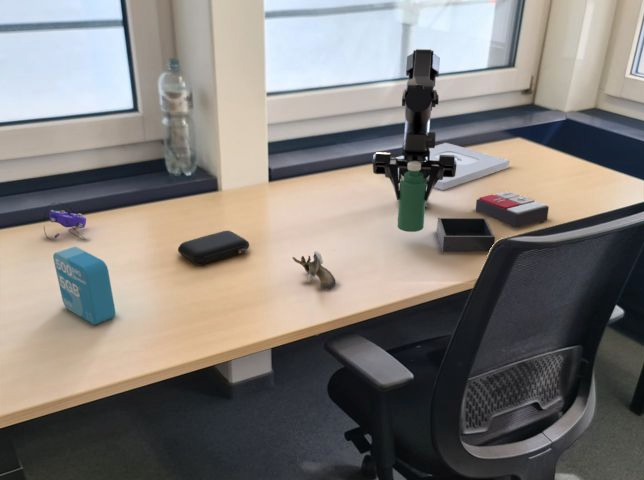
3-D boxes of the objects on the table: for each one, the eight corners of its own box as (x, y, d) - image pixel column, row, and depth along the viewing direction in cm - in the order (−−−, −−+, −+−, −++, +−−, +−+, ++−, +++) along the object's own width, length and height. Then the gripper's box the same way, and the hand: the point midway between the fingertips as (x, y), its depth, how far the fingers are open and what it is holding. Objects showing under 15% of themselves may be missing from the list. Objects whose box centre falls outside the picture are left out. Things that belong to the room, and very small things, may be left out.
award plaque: (379, 169, 222) (379, 162, 221) (445, 149, 239) (446, 142, 238) (442, 190, 207) (443, 182, 206) (508, 167, 224) (509, 160, 223)
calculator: (507, 189, 197) (550, 203, 186) (506, 205, 200) (548, 220, 189) (475, 196, 192) (517, 211, 181) (474, 212, 195) (515, 228, 184)
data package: (63, 307, 149) (51, 250, 142) (83, 299, 151) (72, 244, 145) (96, 327, 142) (85, 269, 135) (117, 319, 145) (107, 262, 138)
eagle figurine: (285, 275, 159) (308, 283, 152) (297, 243, 158) (321, 249, 151) (312, 286, 164) (336, 294, 157) (324, 255, 163) (348, 262, 156)
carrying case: (199, 270, 163) (256, 253, 171) (198, 257, 161) (255, 241, 169) (175, 254, 170) (230, 239, 178) (173, 242, 168) (229, 226, 176)
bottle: (403, 220, 177) (407, 157, 168) (427, 224, 174) (432, 161, 166) (393, 228, 172) (396, 165, 164) (417, 233, 170) (421, 169, 162)
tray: (436, 233, 181) (437, 217, 179) (484, 233, 182) (486, 217, 179) (442, 253, 172) (443, 236, 169) (493, 253, 172) (495, 236, 170)
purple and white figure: (91, 208, 184) (89, 214, 175) (86, 240, 186) (84, 248, 177) (48, 198, 180) (44, 204, 171) (44, 232, 183) (39, 239, 174)
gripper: (374, 115, 164) (369, 181, 161) (460, 118, 163) (456, 185, 160) (376, 141, 175) (371, 203, 172) (456, 144, 173) (452, 207, 170)
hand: (411, 199), depth 168 cm, fingers closed on bottle, 6 cm apart
